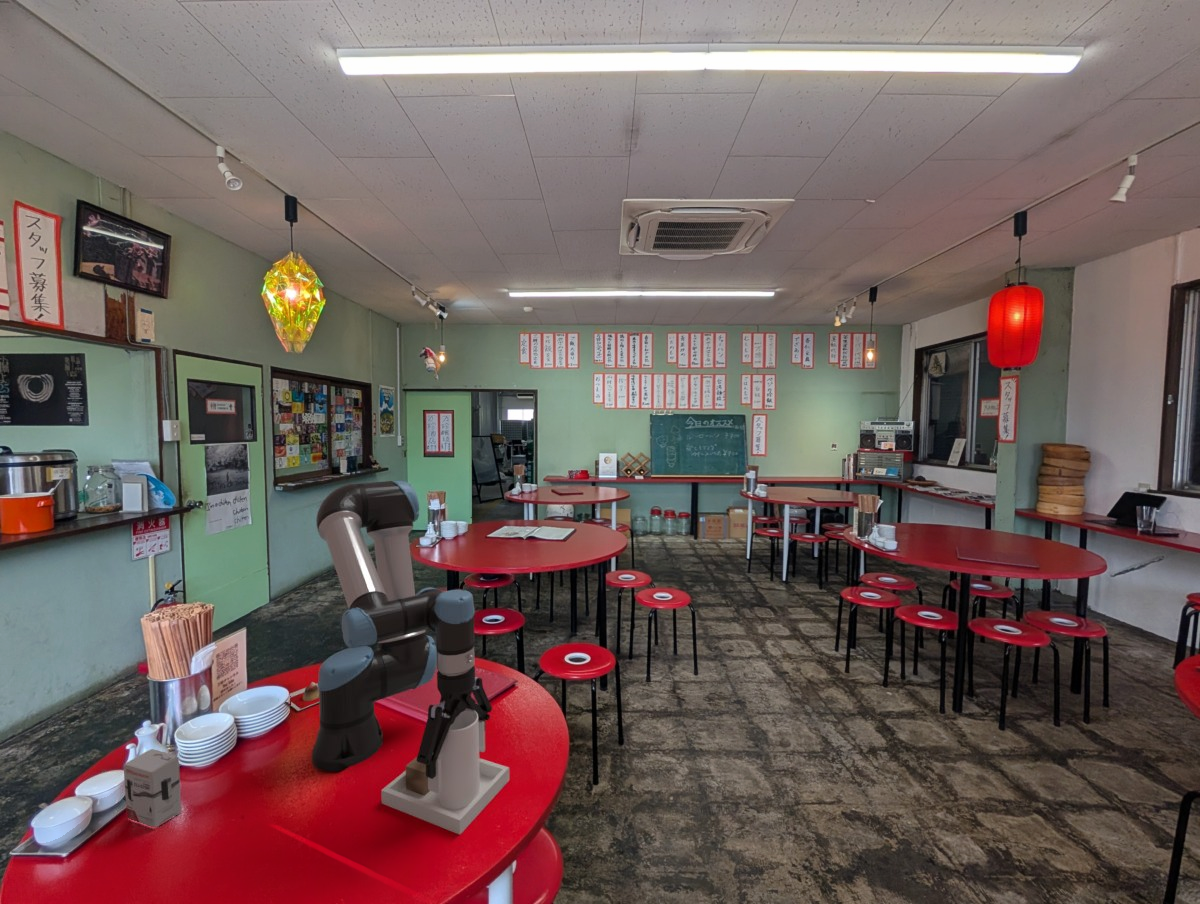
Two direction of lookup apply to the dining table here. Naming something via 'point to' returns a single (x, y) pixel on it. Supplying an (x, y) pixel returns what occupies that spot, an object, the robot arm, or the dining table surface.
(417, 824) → the dining table surface
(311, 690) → the dessert
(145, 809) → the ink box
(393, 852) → the dining table surface
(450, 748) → the cup
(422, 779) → the walnut block
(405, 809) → the tray
